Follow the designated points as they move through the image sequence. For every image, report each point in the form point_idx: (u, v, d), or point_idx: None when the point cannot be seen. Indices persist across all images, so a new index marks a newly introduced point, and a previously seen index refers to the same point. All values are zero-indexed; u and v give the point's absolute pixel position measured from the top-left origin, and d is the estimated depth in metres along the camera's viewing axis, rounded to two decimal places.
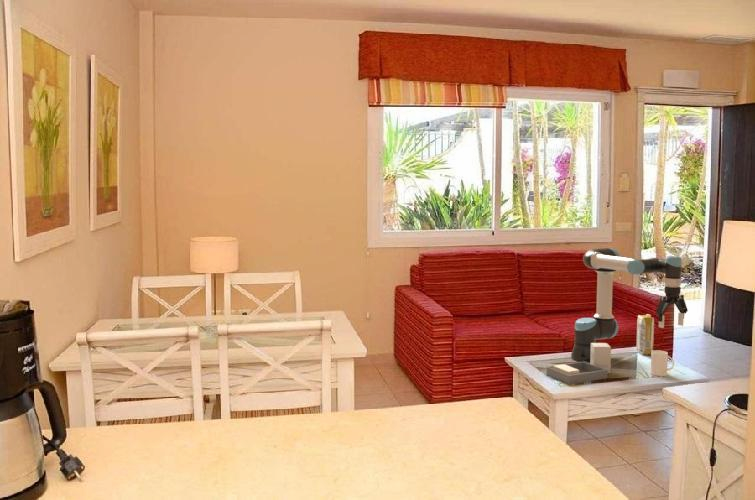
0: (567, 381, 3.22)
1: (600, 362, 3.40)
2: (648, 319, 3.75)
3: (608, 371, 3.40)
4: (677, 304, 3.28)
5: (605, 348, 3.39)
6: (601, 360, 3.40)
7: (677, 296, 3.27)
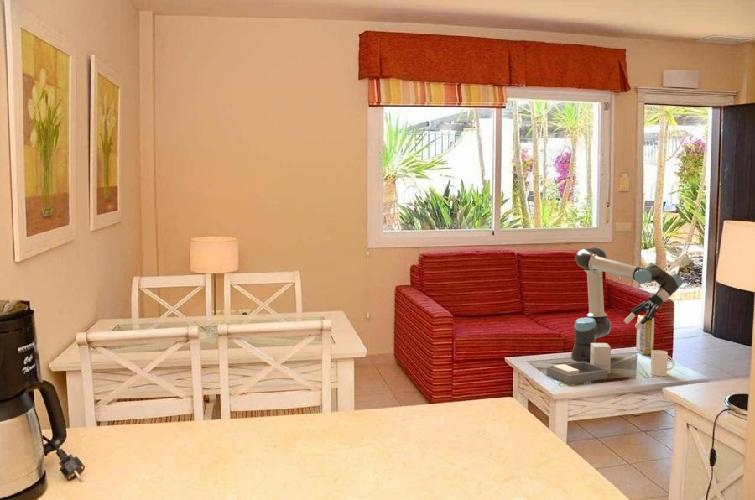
0: (567, 381, 3.22)
1: (600, 362, 3.40)
2: None
3: (608, 371, 3.40)
4: (643, 309, 3.47)
5: (605, 348, 3.39)
6: (601, 360, 3.40)
7: None
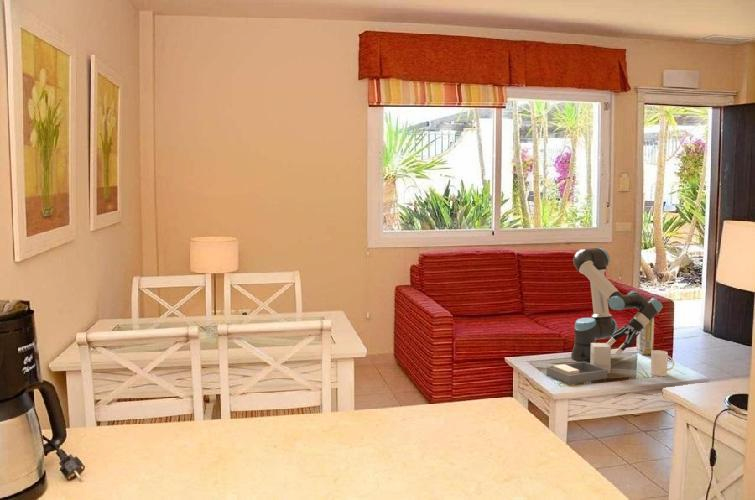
0: (567, 381, 3.22)
1: (600, 362, 3.40)
2: None
3: (608, 371, 3.40)
4: (623, 334, 3.46)
5: (605, 348, 3.39)
6: (601, 360, 3.40)
7: None
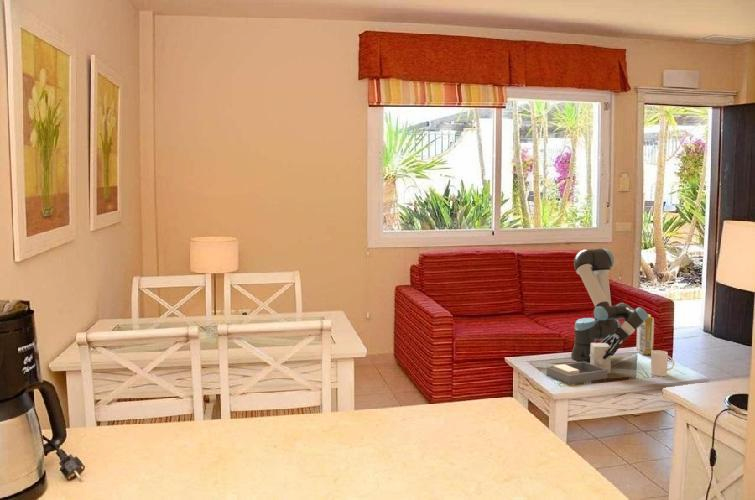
0: (567, 381, 3.22)
1: None
2: (648, 319, 3.75)
3: (608, 371, 3.40)
4: (609, 343, 3.47)
5: (605, 348, 3.39)
6: None
7: None
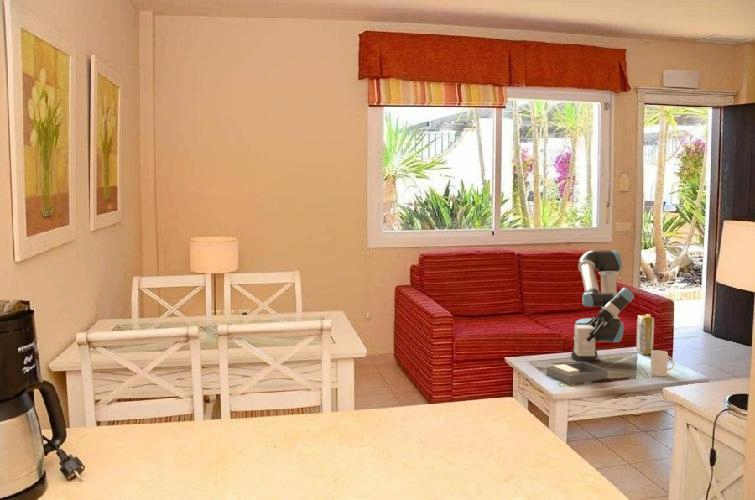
0: (567, 381, 3.22)
1: None
2: (648, 319, 3.75)
3: (592, 354, 3.30)
4: (593, 325, 3.36)
5: (589, 330, 3.29)
6: None
7: None
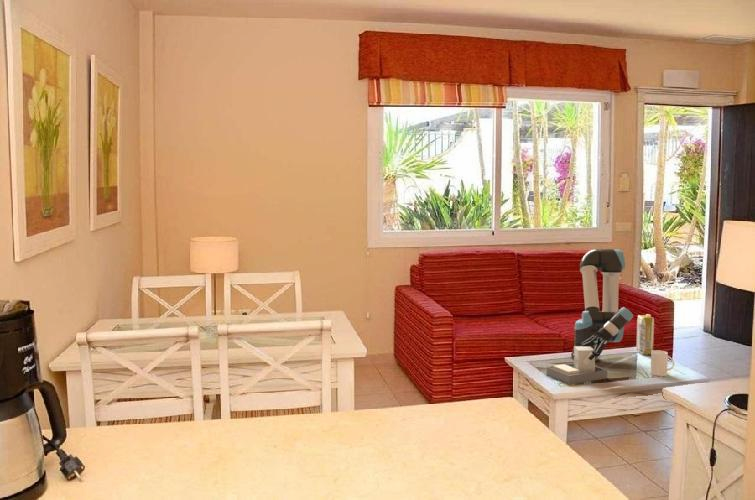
0: (567, 381, 3.22)
1: (584, 366, 3.30)
2: (648, 319, 3.75)
3: None
4: (593, 343, 3.38)
5: (589, 352, 3.29)
6: None
7: None
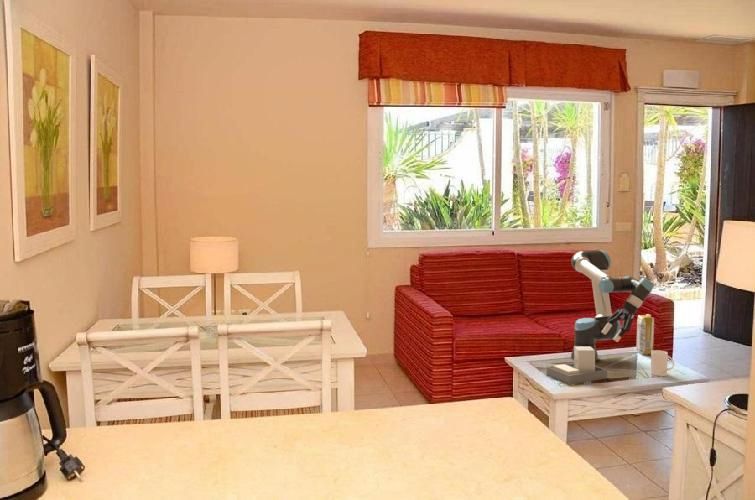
0: (567, 381, 3.22)
1: (584, 366, 3.30)
2: (648, 319, 3.75)
3: None
4: (619, 318, 3.40)
5: (589, 352, 3.29)
6: (585, 364, 3.30)
7: None
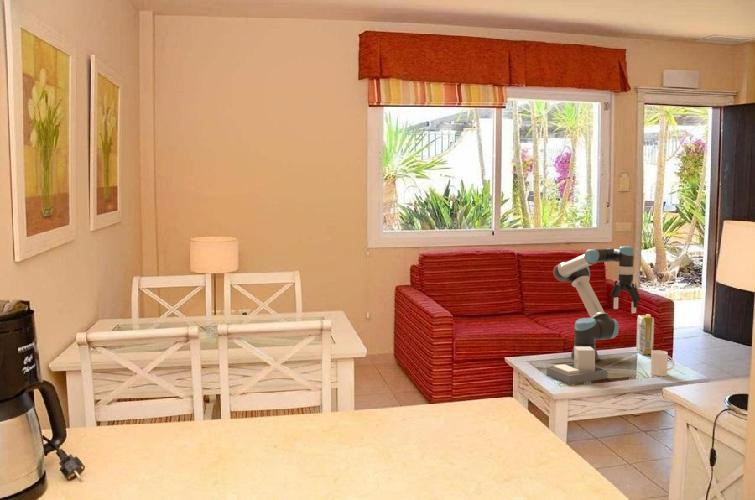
0: (567, 381, 3.22)
1: (584, 366, 3.30)
2: (648, 319, 3.75)
3: None
4: (621, 289, 3.58)
5: (589, 352, 3.29)
6: (585, 364, 3.30)
7: None
